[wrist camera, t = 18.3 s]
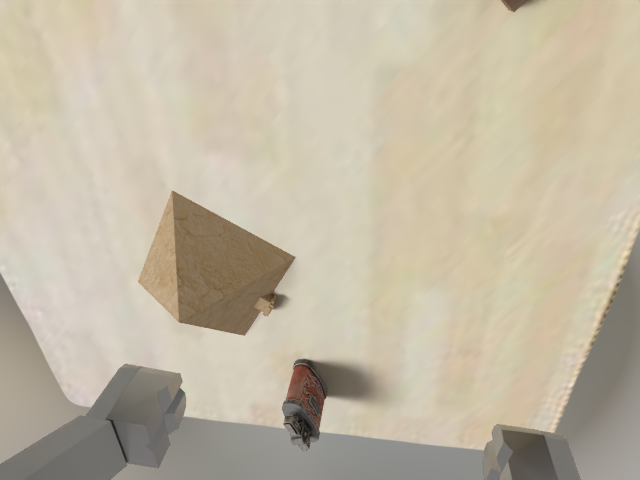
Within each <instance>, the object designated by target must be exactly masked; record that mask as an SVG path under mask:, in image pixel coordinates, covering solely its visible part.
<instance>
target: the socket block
mask: <svg viewBox="0 0 640 480" xmlns="http://www.w3.org/2000/svg"><path fill="white" fill-rule="evenodd" d="M501 1H502V2H503V3H504V5H505V6H506V7H507V8H508V10H510V11H513V12H515V11H516V10H517V9H518V8H519V7H520V6H521V5H522V4H523V3H525V2H526V1H527V0H501Z"/></svg>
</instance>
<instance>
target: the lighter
mask: <svg viewBox="0 0 640 480" xmlns="http://www.w3.org/2000/svg"><path fill="white" fill-rule="evenodd" d="M326 396H327V389H326V386H325V383H324V381H323V378H322V376H321V375H320V373H319V372H318V370H317V369H316V368H315V367H314V366H313V364H312V363H311V362H310V361H308V360H306V359H299V360H296V361H295V363H294V366H293V375H292V379H291V382H290V386H289V390H288V393H287V397H286V400H285V401H284V403H283V406H282V411H283V413H284V416H285V419H284V423H283V425H284V426H285V428H286V429H287V431H288V432H289V434H290V435H291V442H292V444H293V445H297V446H298V447H299V448H300V450H301V451H303V452H307V451H309V447H310V442H315V441H317V440H318V439H319V435H320V431H319V427H320V421H321V416H322V410H323V405H324V400H325V399H326Z"/></svg>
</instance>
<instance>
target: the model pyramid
mask: <svg viewBox="0 0 640 480" xmlns="http://www.w3.org/2000/svg"><path fill="white" fill-rule="evenodd" d="M294 259H295V257H294V256H292V255H290V254H289V253H287V252H285V251H283V250H281V249H279V248H277V247H276V246H274V245H272V244H270V243H268V242H266V241H265V240H263V239H261V238H259V237H257V236H255V235H253V234H252V233H250V232H248V231H246V230H244V229H242V228H241V227H239V226H237V225H235V224H233V223H231V222H229V221H228V220H226V219H224V218H222V217H220V216H218V215H216V214H215V213H213V212H211V211H209V210H207V209H205V208H204V207H202V206H200V205H198V204H196V203H194V202H192V201H191V200H189V199H187V198H185V197H183V196H181V195H180V194H178V193H176V192H174V191H172V192H171V195H170V198H169V200H168V203H167V206H166V208H165V211H164V214H163V216H162V219H161V222H160V224H159V227H158V230H157V232H156V235H155V238H154V240H153V243H152V246H151V248H150V251H149V253H148V256H147V259H146V261H145V264H144V267H143V269H142V272H141V275H140V277H139V280H138V282H139V283H140V284H141V285H142V286H143V287H144V288H145V289H146V290H147V291H148V292H149V293H150V294H151V295H152V296H153V297H154V298H155V299H156V300H157V301H158V302H159V303H160V304H161V305H162V306H163V307H164V308H165V309H166V310H167V311H168V312H169V313H170V314H171V315H172V316H173V317H174V318H175V319H176V320H177V321H178V322H180V323H185V324H190V325H195V326H200V327H205V328H210V329H215V330H220V331H225V332H230V333H234V334H239V335H244V336H245V334H246V333H247V331H248V330H249V328H250V327H251V325H252V323H253V322H254V320H255V319H256V317H257V316H258V314H259V313H260V311H262V312H264V313H263V315H264V316H268V315H269V313H270V312H271V310H272V309H273V308H274V306H275V305H274V303H275V300H276V295H274V296H273V295H271V294H272V293H273V291H274V290H275V288H276V287H277V285H278V284H279V282H280V280H281V279H282V277H283V276H284V274H285V273H286V271H287V270H288V268H289V267H290V265H291V264H292V262H293V260H294Z"/></svg>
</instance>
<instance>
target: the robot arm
mask: <svg viewBox="0 0 640 480" xmlns="http://www.w3.org/2000/svg"><path fill="white" fill-rule="evenodd" d="M182 382H183V381H182V378H181V374H180V373H174V372H169V371H163V370H158V369H152V368H146V367H142V366H136V365H129V364H124V365H123V366H122V367H121V368H119V369H118V371H117V372H116V374H115V375H114V376H113V378H112V379H111V381H110V382H109V383H108V385H107V386H106V388H105V389H104V391H103V392H102V393H101V395H100V396H99V398H98V399H97V400H96V402H95V403H94V405H93V406H92V407H91V409H90V410H89V412H88V413H87V414H86V416H82V415H80V416H78V417H77V418H75V419H73V420H72V421H70V422H68V423H67V424H65V425H63V426H62V427H60V428H59V429H57V430H55V431H54V432H52V433H50V434H49V435H47V436H45V437H44V438H42V439H41V440H39V441H37V442H36V443H34V444H32V445H31V446H29V447H28V448H26V449H24V450H23V451H21V452H19V453H18V454H16V455H14V456H13V457H11V458H9V459H8V460H6V461H5V462H3V463H1V464H0V480H111V479H112V478H113V477H114V476H115V475H116V474H117V473H119V472H120V471H121V470H122V469H123V468H125V467H126V466H127V463H129V464H135V465H142V466H148V467H154V468H159V466H160V464H161V462H162V460H163V457H164V456H165V454H166V451H167V449H168V447H169V446H170V440H169V434H171V433H172V432H173V431H175V430H176V429H178V427H179V425H180V423H181V421H182V418H183V415H184V411H185V408H186V396H185V392H184V391H183V390H182V389H181V388H180V386H181V384H182ZM492 438H493V440H492V441H490V442H488V443H487V444H486V447H485V450H484V455H483V474H484V480H581V479H580V476H579V473H578V471H577V468H576V465H575V462H574V459H573V456H572V453H571V451H570V448H569V445H568V442H567V439H565V437H564V436H563V435H562V434H558V433H550V432H543V431H539V430H535V429H528V428H521V427H514V426H507V425H501V424H497V425H495V426H494V428H493V430H492Z"/></svg>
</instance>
